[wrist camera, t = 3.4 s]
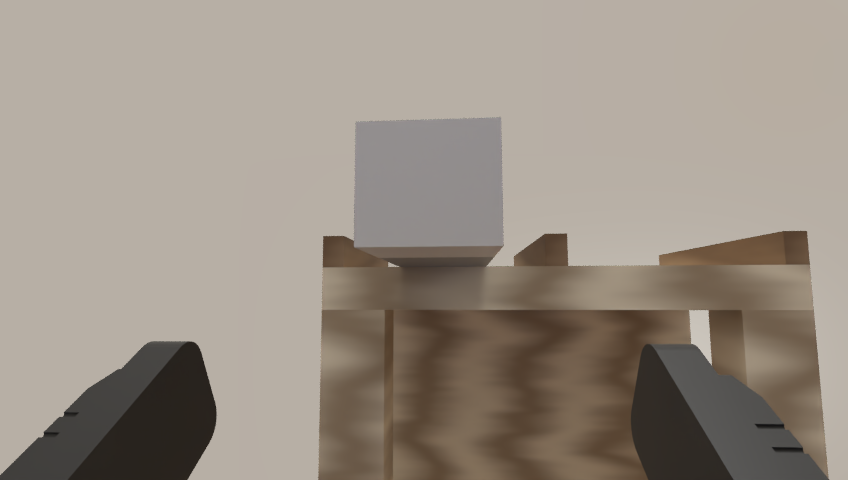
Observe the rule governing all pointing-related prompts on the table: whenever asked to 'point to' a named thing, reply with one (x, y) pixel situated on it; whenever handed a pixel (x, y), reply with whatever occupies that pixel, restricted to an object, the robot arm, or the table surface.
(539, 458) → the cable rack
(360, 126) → the grey rectangular bar
